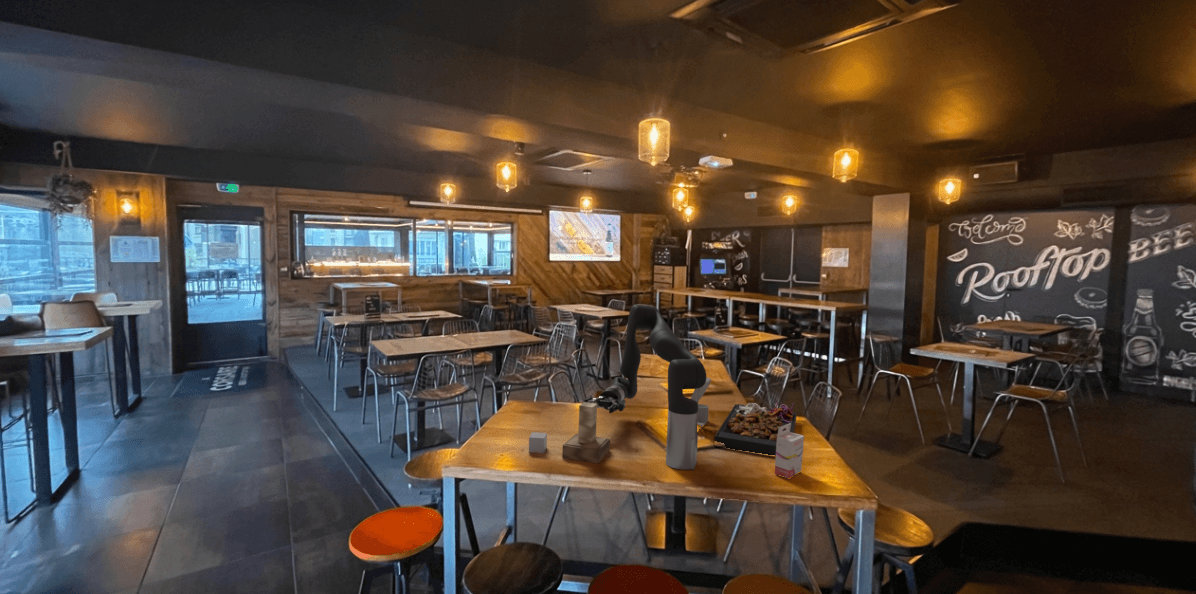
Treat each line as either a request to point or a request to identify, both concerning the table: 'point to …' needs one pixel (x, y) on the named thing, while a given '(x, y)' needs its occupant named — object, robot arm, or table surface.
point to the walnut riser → (586, 449)
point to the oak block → (587, 423)
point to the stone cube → (538, 442)
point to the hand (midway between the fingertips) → (598, 408)
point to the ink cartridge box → (788, 452)
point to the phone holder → (701, 408)
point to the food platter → (754, 427)
